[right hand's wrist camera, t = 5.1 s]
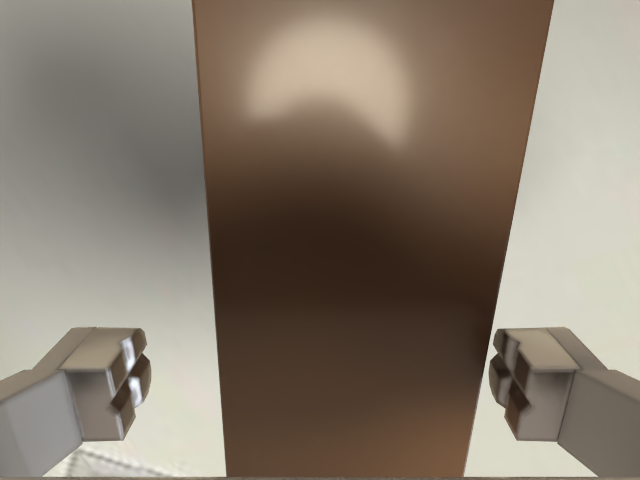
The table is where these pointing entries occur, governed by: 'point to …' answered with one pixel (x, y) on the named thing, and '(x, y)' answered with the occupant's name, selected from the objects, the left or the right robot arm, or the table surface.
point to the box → (359, 221)
